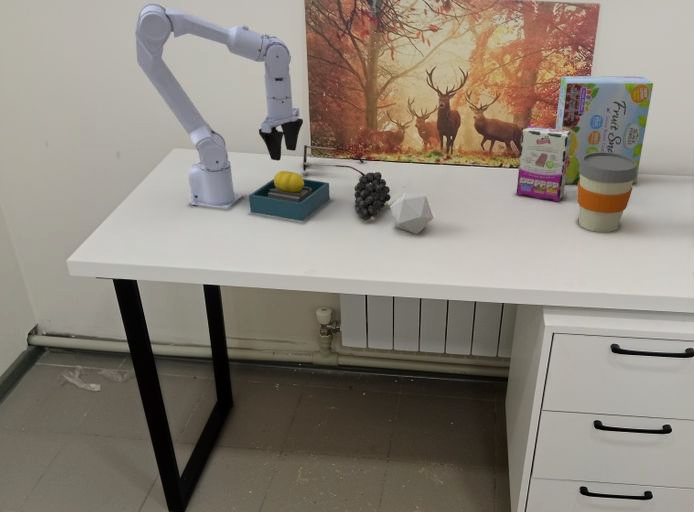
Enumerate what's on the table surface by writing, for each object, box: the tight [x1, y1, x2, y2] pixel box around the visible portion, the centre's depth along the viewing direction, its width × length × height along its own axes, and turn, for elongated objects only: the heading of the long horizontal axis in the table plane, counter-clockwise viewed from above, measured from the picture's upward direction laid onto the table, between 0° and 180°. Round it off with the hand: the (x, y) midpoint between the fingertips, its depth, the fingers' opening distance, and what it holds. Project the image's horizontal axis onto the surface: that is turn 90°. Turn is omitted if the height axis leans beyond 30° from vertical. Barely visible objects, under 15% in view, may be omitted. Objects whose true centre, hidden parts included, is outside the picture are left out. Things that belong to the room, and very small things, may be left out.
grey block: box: [268, 186, 312, 203], centre depth 172 cm, size 8×7×4 cm
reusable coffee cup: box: [577, 152, 637, 233], centre depth 165 cm, size 13×12×15 cm
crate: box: [248, 178, 331, 222], centre depth 172 cm, size 13×14×5 cm
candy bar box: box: [516, 125, 572, 202], centre depth 179 cm, size 11×5×16 cm, turn 68°
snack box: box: [554, 75, 654, 185], centre depth 187 cm, size 22×9×26 cm, turn 92°
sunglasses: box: [302, 144, 366, 177], centre depth 194 cm, size 14×16×5 cm
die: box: [389, 190, 434, 235], centre depth 162 cm, size 8×9×10 cm
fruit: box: [354, 171, 391, 221], centre depth 169 cm, size 9×8×15 cm
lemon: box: [273, 170, 304, 193], centre depth 169 cm, size 8×5×5 cm, turn 70°
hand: (283, 154), depth 173 cm, fingers open, 7 cm apart
